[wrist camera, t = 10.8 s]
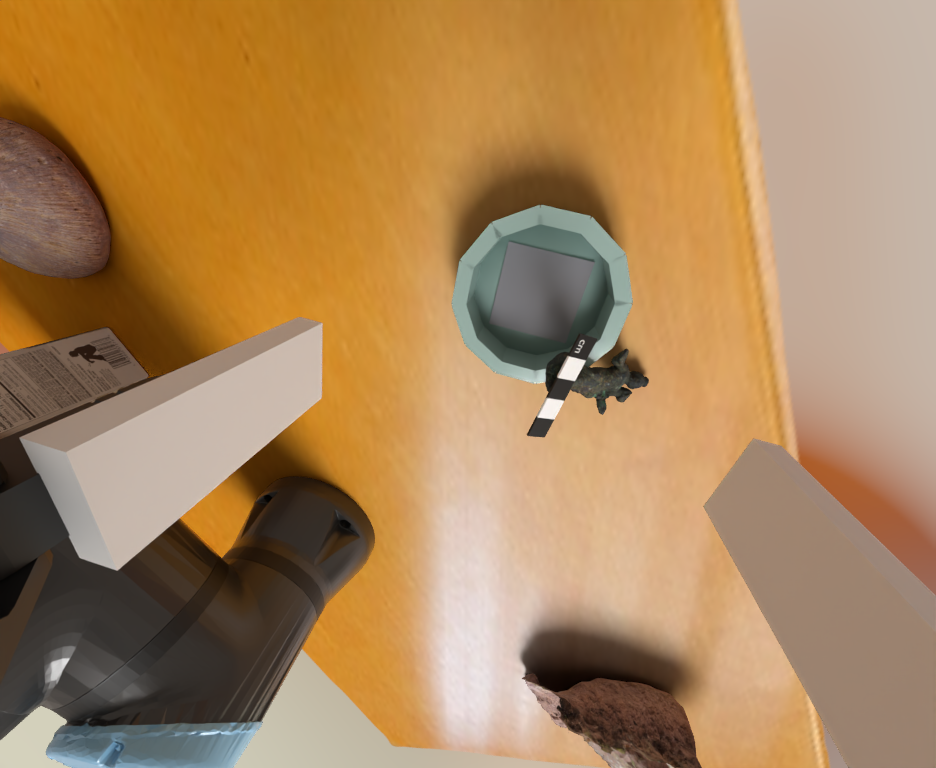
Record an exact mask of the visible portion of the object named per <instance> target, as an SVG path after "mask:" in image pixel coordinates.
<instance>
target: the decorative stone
mask: <svg viewBox="0 0 936 768" xmlns="http://www.w3.org/2000/svg"><path fill="white" fill-rule="evenodd" d="M110 240H111V237H110V229H109V226H108V222H107V219H106V217H105V213H104V210H103V208H102V206H101V204H100V202H99V201H98V199H97V197H96V195H95V194H94V192H93V191H92V189H91V188H90V186H89V184H88V183H87V181H86V180H85V179H84V177H83V176H82V175H81V173H80V172H79V171H78V170H77V169H76V167H75V166H74V165H73V164H72V163H71V161H70V160H69V158H68V157H67V156H66V155H65V154H64V153H63V152H62V151H61V150H60V149H59V148H58V147H56V146H55V145H54V144H52V143H51V142H50V141H49V140H47V139H46V138H45V137H44V136H42V135H41V134H39V133H38V132H36V131H34V130H33V129H31V128H29V127H26V126H24V125H21V124H18V123H17V122H14V121H11V120H7V119H4V118H1V117H0V258H1V259H3V260H5V261H7V262H9V263H11V264H14V265H16V266H18V267H20V268H23V269H25V270H27V271H30V272H32V273H36V274H41V275H45V276H51V277H60V278H68V279H71V278H80V277H87V276H89V275H92V274H94V273H95V272H97V271H99V270H101V269H103V268H104V267H105V265H106V264H107V261H108V258H109V253H110Z"/></svg>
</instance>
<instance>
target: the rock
mask: <svg viewBox="0 0 936 768" xmlns="http://www.w3.org/2000/svg"><path fill="white" fill-rule="evenodd" d="M522 679H524V680H525V682H526V684H527V686H528V688H530V690H531V691H532V692H533V693H534V694H535V695H536V697H537V701H538V703H540V704H541V706H542V708H543V709H544V710H546V711H547V712H548V713H549V714H550V716H551V719H552V720H553V721H554V722H555V724H556V725H559V726H560V727H564V728H568V729H569V730H570V731H572V732H574V733H576V734H578V735H581V736H583V737H584V741H586V742H587V743H588V744H589V745H590V746H591V747H592V748H593V749H594V750H595V752H596V753H597V754H599V755H600V756H601V757H602V759H603V760H605V761H606V762H607V763H608V765H609V766H610V767H611V768H702V767H701V765H700V763H699V761H698V759H697V758H696V748H695V741H694V736H693V733H692V730H691V727H690V724H689V721H688V718H687V716H686V713H685V711H684V709H683V707H682V706H681V705H680V704H679V703H678V702H677V701H676V700H675V699H674V698H673V697H672V695H670V694H669V693H666V692H664V691H661V690H658V689H655V688H653V687H651V686H649V685H645V684H641V683H635V682H624V681H618V680H609V679H603V678H596V679H594V680H592V681H590V682H580V683H578V684H576V685H575V686H573V687H571V688H570V689H569V690H566V691H561V692H557V693H556V692H554V691H551V690H549V689H547V688H545V687H542V686H540V684H539V681H538V678H537V676H536V675H535V674H533V673H532V674H526V676H525V677H523V678H522Z"/></svg>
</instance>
